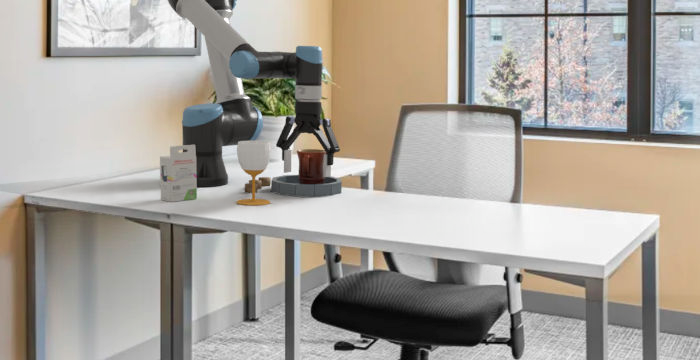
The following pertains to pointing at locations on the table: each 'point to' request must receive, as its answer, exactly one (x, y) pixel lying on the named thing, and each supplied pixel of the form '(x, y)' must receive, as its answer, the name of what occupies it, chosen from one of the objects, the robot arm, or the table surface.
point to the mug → (311, 166)
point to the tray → (305, 186)
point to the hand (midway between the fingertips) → (307, 174)
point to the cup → (253, 165)
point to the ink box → (179, 174)
